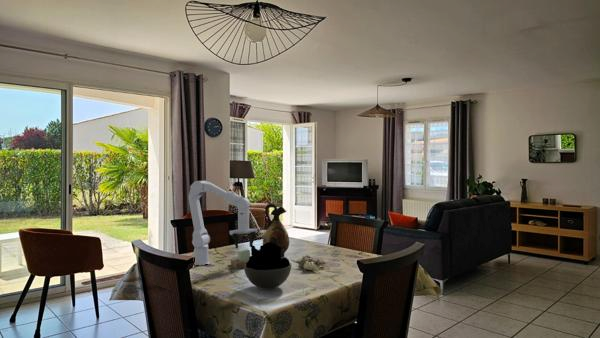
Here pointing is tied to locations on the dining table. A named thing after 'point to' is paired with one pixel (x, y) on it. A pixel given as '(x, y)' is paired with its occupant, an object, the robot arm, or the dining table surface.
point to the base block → (238, 263)
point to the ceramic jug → (276, 229)
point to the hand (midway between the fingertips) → (243, 247)
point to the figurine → (311, 263)
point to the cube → (243, 254)
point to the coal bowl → (267, 266)
